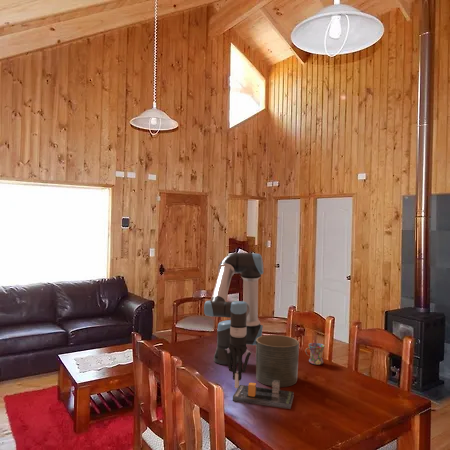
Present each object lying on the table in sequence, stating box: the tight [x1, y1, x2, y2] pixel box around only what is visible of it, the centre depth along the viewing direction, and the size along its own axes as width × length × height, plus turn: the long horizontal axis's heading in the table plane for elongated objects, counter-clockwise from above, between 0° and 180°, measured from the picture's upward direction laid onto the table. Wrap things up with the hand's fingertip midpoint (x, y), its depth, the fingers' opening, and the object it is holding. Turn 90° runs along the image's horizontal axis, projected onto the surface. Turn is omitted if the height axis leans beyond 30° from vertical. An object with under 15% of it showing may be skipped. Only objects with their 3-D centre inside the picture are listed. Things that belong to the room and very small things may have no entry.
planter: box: [255, 334, 300, 388], centre depth 206 cm, size 22×22×20 cm
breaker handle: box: [247, 382, 257, 397], centre depth 180 cm, size 3×3×5 cm
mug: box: [304, 342, 325, 366], centre depth 232 cm, size 12×9×11 cm
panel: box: [232, 380, 295, 410], centre depth 182 cm, size 26×14×7 cm, turn 74°
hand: (236, 386), depth 182 cm, fingers closed
